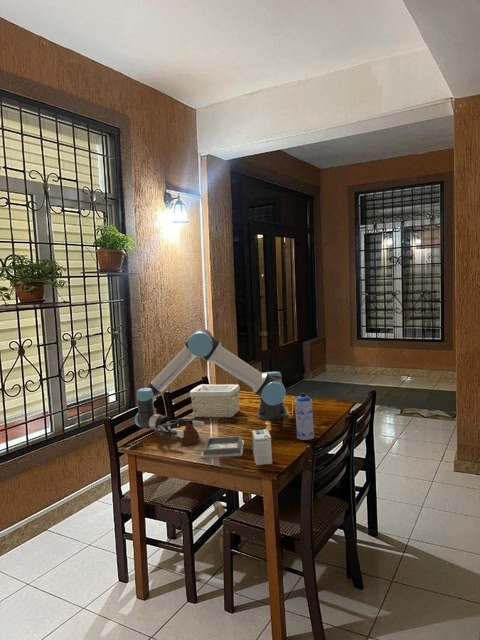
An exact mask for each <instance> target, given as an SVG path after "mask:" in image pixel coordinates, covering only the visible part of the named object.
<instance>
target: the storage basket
mask: <svg viewBox="0 0 480 640" xmlns="http://www.w3.org/2000/svg"><path fill="white" fill-rule="evenodd" d="M240 389H241V387H240V384H204V383H202V384H199V385H197V386H196V387H194V388H192V389H191V390H190V391H189V397H190V400H191V407H192V413H193V418H232V417H234V416H235V415H236V414H237V413H238V412H239V410H240Z"/></svg>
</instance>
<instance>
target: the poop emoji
mask: <svg viewBox="0 0 480 640" xmlns="http://www.w3.org/2000/svg"><path fill="white" fill-rule="evenodd" d="M182 431H183V436H184V437H180V442H181V444H182V445H183V446H185V447H186V446H188V447H189V446H190V447H191V446H195V445H197V444H198V442H199V441H200V439H201V437H200V434H199V432H198V431H197V429H196V427H194V426H193V425H191V424H190V423H187V424H186V426H185V428H184V429H182Z"/></svg>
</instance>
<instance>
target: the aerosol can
mask: <svg viewBox="0 0 480 640" xmlns="http://www.w3.org/2000/svg"><path fill="white" fill-rule="evenodd" d="M294 406H295V407H294V409H295V420H296V421H295V422H296V424H295V425H296V439H298V440H301V441H302V440H305V441H307V440H312V439H314V438H315V432H314V415H313V401H312V398H311V397H310V396H308V395H306V392H300V395H298V396H297V398H296V399H294Z"/></svg>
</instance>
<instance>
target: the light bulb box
mask: <svg viewBox="0 0 480 640" xmlns="http://www.w3.org/2000/svg"><path fill="white" fill-rule="evenodd" d="M251 437H252V438H251V439H252V454H253V460H254V462H255V465H256V466H261V465H270V464H271V465H272V464H273V453H272V437H271V434H270V432H269V430H268V428H265V429H255V430H254V429H253V430H251Z"/></svg>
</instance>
